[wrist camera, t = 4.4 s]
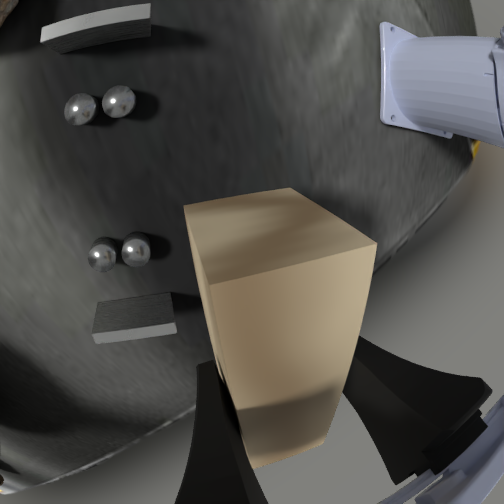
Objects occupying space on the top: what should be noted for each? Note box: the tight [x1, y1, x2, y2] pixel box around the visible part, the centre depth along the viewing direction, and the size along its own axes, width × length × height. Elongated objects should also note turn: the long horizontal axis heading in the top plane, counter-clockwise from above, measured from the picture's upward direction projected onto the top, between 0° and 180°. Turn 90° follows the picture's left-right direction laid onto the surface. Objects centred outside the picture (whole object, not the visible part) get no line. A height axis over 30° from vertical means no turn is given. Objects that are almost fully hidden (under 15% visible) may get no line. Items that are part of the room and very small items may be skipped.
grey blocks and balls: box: [40, 3, 177, 344], centre depth 12 cm, size 5×17×3 cm, turn 0°
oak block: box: [184, 188, 377, 469], centre depth 11 cm, size 4×12×5 cm, turn 4°
